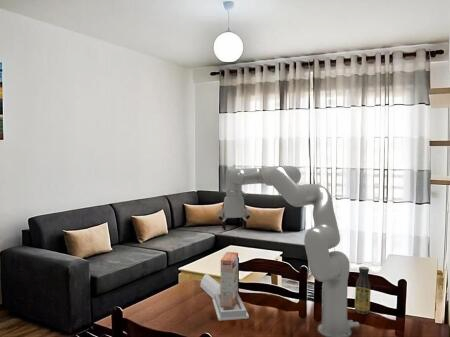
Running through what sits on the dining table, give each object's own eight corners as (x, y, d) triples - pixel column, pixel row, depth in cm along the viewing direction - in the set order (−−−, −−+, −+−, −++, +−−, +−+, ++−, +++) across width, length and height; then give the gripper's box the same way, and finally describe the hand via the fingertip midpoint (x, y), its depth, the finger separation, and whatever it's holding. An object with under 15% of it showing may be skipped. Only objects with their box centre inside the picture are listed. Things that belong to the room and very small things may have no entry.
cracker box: (233, 308, 172) (233, 260, 171) (219, 307, 173) (219, 259, 172) (238, 296, 186) (238, 251, 185) (226, 295, 187) (225, 251, 186)
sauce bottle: (353, 313, 174) (353, 268, 173) (356, 308, 179) (356, 264, 179) (369, 316, 171) (369, 270, 170) (371, 311, 176) (371, 266, 176)
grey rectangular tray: (239, 299, 192) (239, 292, 191) (248, 318, 170) (248, 310, 170) (212, 301, 190) (212, 293, 190) (218, 320, 168) (218, 312, 168)
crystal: (195, 279, 210) (211, 294, 188) (206, 271, 213) (223, 285, 191) (202, 290, 212) (218, 306, 190) (213, 282, 214) (230, 297, 192)
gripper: (249, 192, 198) (250, 227, 199) (215, 193, 196) (215, 228, 196) (253, 194, 191) (253, 230, 191) (217, 195, 188) (217, 231, 189)
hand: (234, 229), depth 194 cm, fingers open, 9 cm apart
